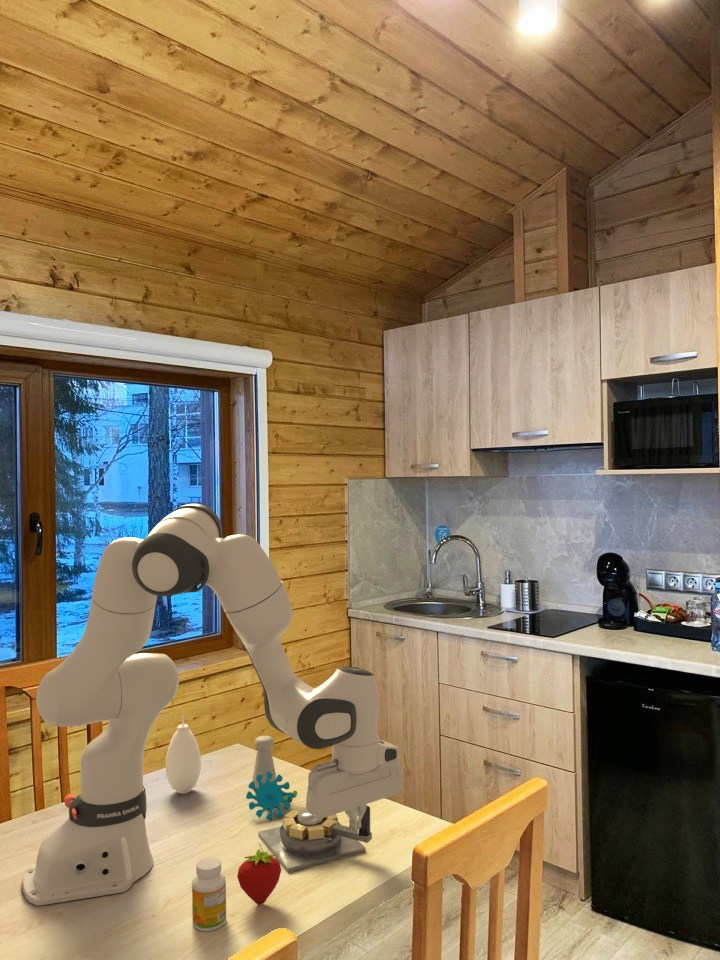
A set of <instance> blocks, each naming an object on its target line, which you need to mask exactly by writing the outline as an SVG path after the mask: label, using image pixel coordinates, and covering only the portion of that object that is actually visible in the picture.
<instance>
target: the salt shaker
mask: <svg viewBox="0 0 720 960" xmlns="http://www.w3.org/2000/svg"><path fill="white" fill-rule="evenodd" d="M274 741H275V740H274V738H273V737H272V736H270V735H260V736H258V737H257V738H255V740H254V747H255V749H256V756H255V761H254V767H253V773H252V780H251V782H252V781H253V782H255V787H256V788H259V783H258V781H257V780H256V776H257V775H262V776H263V777H262V780H261V782H262V783H265V782H266V779H267V778H266V775H267V772H270V773H272V774H273V776H272V778H271V779H269V781H270V782H273V781H274V780H276V778H277V773H276V769H275V762H274V758H273V754H272V749H273V748H274V745H275V744H274V743H275V742H274ZM276 784H277V785H279V783H278V782H276ZM253 792H254V794H255V795H256V793H255V791H254V790H253Z"/></svg>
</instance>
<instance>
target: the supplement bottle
mask: <svg viewBox="0 0 720 960" xmlns="http://www.w3.org/2000/svg"><path fill="white" fill-rule="evenodd" d="M195 868H196V869H195V871H196V872H195V873H196V875H195V876H194V877H193V879H192V882H191V891H192V892H191V894H192V897H191V899H192V900H191V901H192V903H191V905H192V908H191V909H192V910H191V912H192V914H191V915H192V925H193V927H194V928H195V929H196V930H198V931H201V932H211V931H214V930H215V931H216V930H218V929H219V928H221V927H223V926H224V924H225V923H226V920H227V889H226V888H227V883H226V876H225V873H223V871H222V860H221V859H219V858H218V857H214V856H213V857H212V856H210V857H209V856H208V857H204V858H201V859H199V860H198V861H197V862H196V866H195Z"/></svg>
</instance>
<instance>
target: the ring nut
mask: <svg viewBox="0 0 720 960" xmlns="http://www.w3.org/2000/svg"><path fill="white" fill-rule="evenodd" d="M304 808H306V806H304V807H303V806H302V807H297V810H295V809H292V810H290V811H288V812H287V813H286V814H285V815H283V817H284V818H282V824H283V829H284V831H285V834H286V835H287V834H289V837H291V838H295V839H299V840H304V839H305V838H306V837H307V838H308V840H309V841H311V840H317V839H324V835H325V836H330V835H332V834H334V835H338V836H342V837H346V838H350V839H354V840H358V841H359V842H361V843H362V842H363V843H366V844H368V843H369V842H370V841H371V840H372V839H373V832H371V807H370V806H369V805H368V804H366V811H365V813H364V815H363V817H362V819H361V828H360V829H357V830H352V829H350V827H349V826H347V825H344V824H341V825H339V824H338V822H339V817H338V815H337V814H334V815H331V816H328V817H325V818H323V823H322V824H321V825H314V826H304V825H300V824H297V823H298V812H299V811H300V810H302V809H304Z"/></svg>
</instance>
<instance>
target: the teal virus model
mask: <svg viewBox="0 0 720 960" xmlns="http://www.w3.org/2000/svg"><path fill="white" fill-rule="evenodd" d="M272 776H273V774H272V773H270V772H267V775H266V778H267V779H266V782H265V783H262V782H261V780H262V777H263V776H262V775H257V776H256V780H257V781H258V783H259V788H256V787H255V782H253V781H252V780H251V782H249V784H248V788H249V789H251V790H253V792H254V791H255V792H254V794H255V793H256V794H255V795H254V794H253V792H251V791H249V790H248V791H247V793H246V795H245V796H246V797H245V798H246V799H247V800H249V799H250V800H251V799H252V800H254V801H256V802H257V803H255V802H253V801H250V802H249V803H248V808H249V810H251V811H252V810H254V809H255V808H257V807H259V808H260V807H261V808H262V809H258V810H257V811H256V812H255V815H256V816H257V817H258V818H259V819H260V818H261V817H262V816H263V813H264V812H266V811H270V812H268V813H267V814H266V817H265V818H266V819H267V820H269V821H272V820H273V818H274V813H273V812H274V810H275V809H277V813H276V816H277V817H276V818H282V817H284V814H285V813H284V811H283V809H282V808H281V804H283V805H284V806H283V808H284V810H285V811H288V810H289V809H290V808H291V806H292V804H291V803H292V802H293V799H295V798H296V797H297V795H298V794H299V793H298V791H297V790H293V791H292V792H286V791H283V790H282V789H284V790H289V789H290V787H291V785H290V782H289V781H286V782H285V783H282V784H276V782H279V783H281V782H282V781H283V779H284V778H283V776H282V775H281V774H280V773H279V774H277V775H276V777H277V778H276V780H274V781H273V782H270V781H269V779H271V778H272Z"/></svg>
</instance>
